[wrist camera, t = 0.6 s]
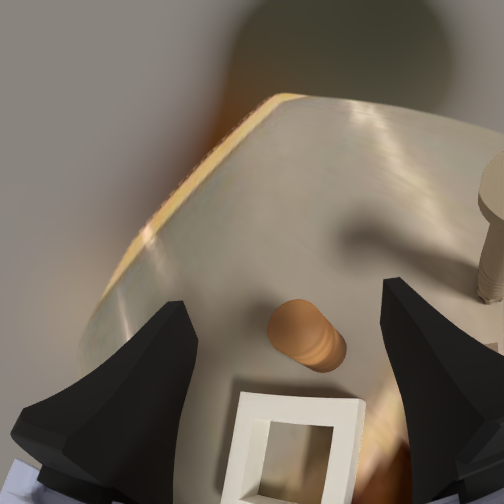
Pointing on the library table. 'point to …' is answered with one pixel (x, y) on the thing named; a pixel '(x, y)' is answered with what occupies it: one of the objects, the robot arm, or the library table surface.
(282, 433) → the library table surface
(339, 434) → the socket block
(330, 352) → the dowel
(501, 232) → the handle
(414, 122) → the library table surface
